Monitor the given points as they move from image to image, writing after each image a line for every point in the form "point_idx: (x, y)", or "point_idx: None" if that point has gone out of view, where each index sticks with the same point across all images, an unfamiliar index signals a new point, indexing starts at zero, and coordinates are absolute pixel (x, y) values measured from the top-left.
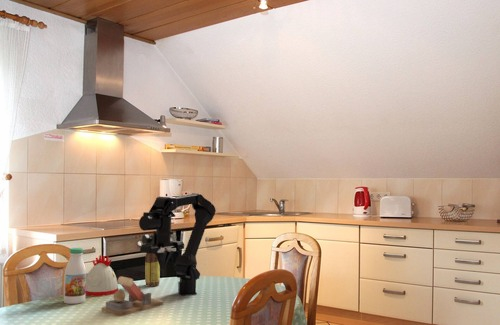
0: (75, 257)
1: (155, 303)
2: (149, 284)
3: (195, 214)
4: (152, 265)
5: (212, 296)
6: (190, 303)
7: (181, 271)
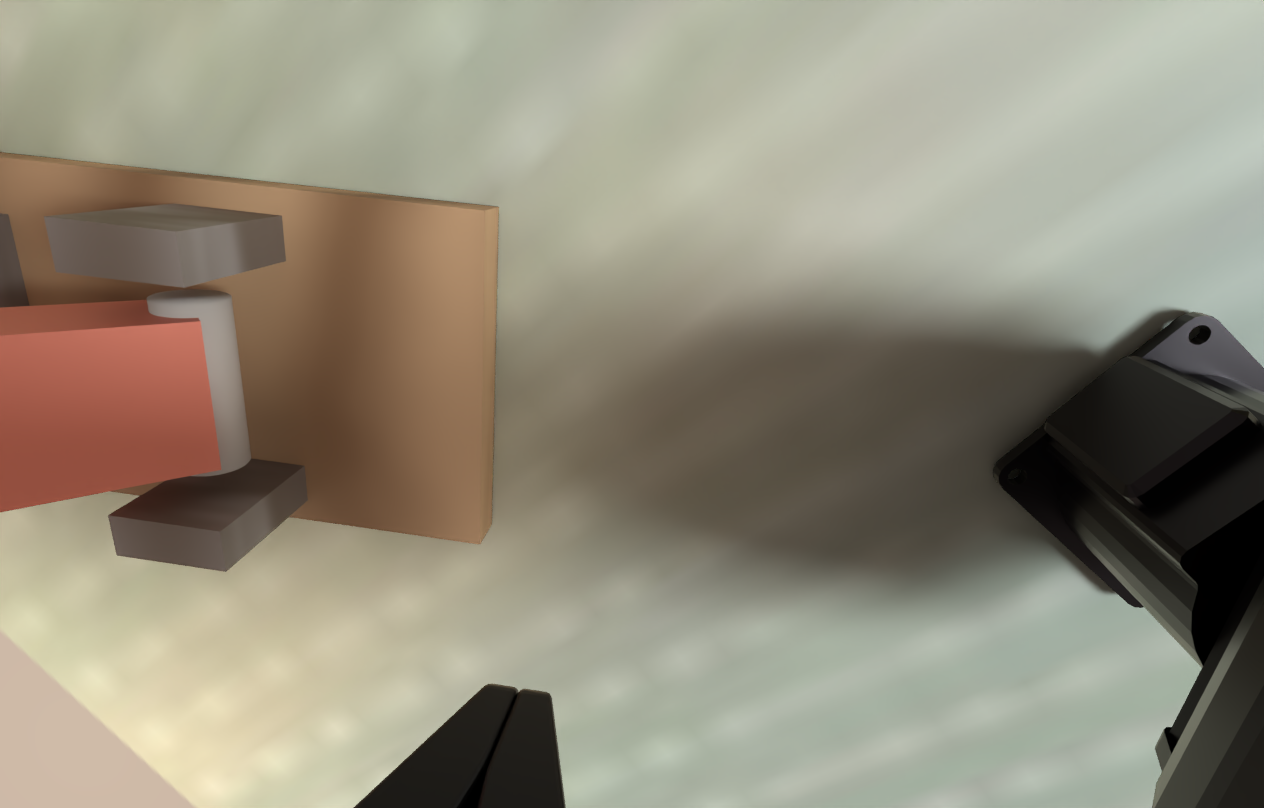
0: None
1: (361, 525)
2: None
3: None
4: None
5: (1115, 768)
6: (706, 716)
7: (1213, 732)
